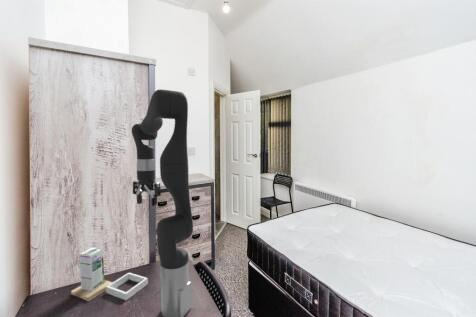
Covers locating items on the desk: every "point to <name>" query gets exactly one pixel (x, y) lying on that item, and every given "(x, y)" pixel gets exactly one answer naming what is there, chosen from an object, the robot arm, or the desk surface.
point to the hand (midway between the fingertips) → (146, 204)
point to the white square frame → (126, 295)
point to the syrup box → (91, 269)
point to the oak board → (90, 294)
